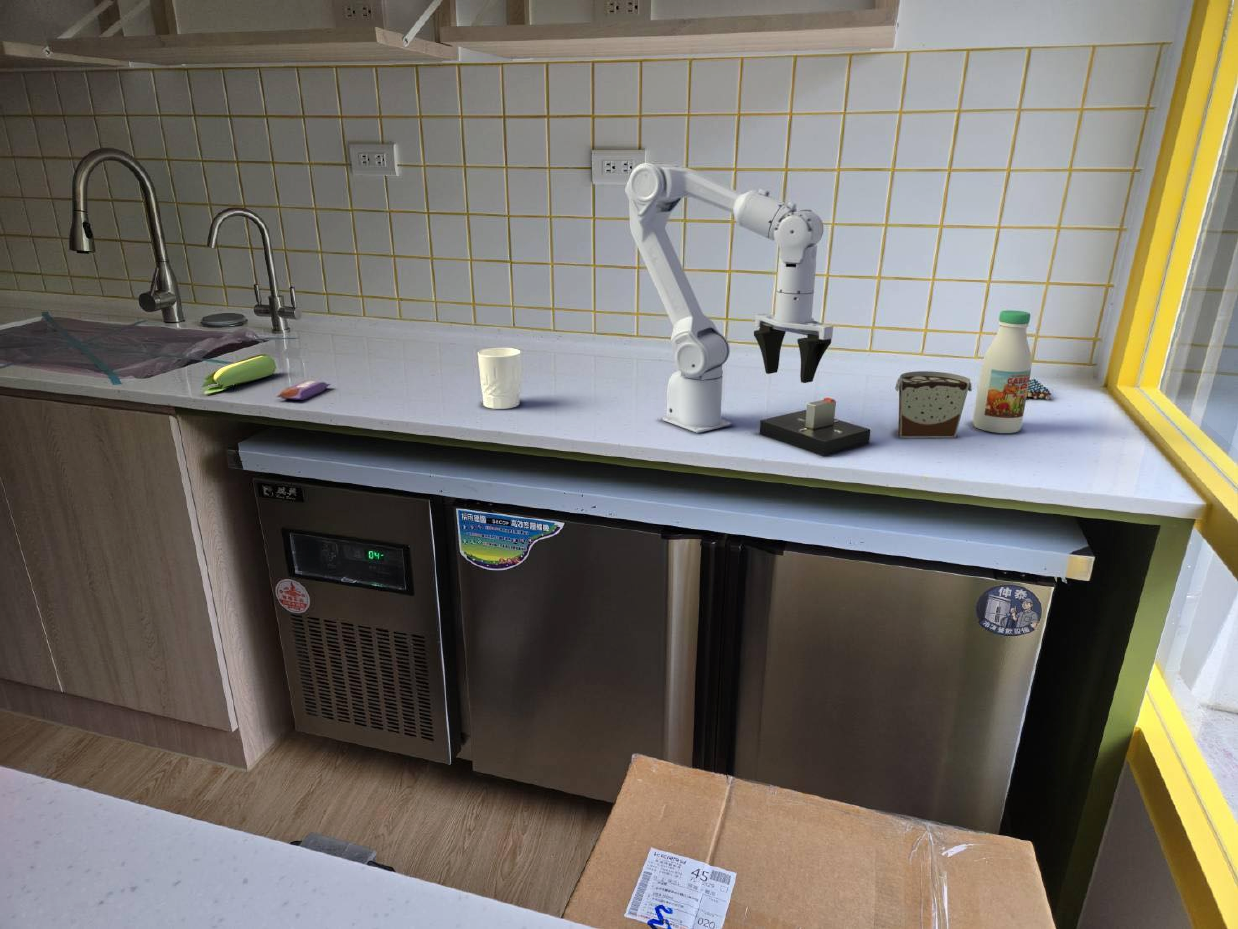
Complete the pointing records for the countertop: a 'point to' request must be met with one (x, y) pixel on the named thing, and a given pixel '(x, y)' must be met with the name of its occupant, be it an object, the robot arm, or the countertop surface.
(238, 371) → the edible corn
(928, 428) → the food container
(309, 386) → the snack package
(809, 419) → the grey upright block
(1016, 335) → the milk bottle
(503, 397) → the white cup
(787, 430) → the panel
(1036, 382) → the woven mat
